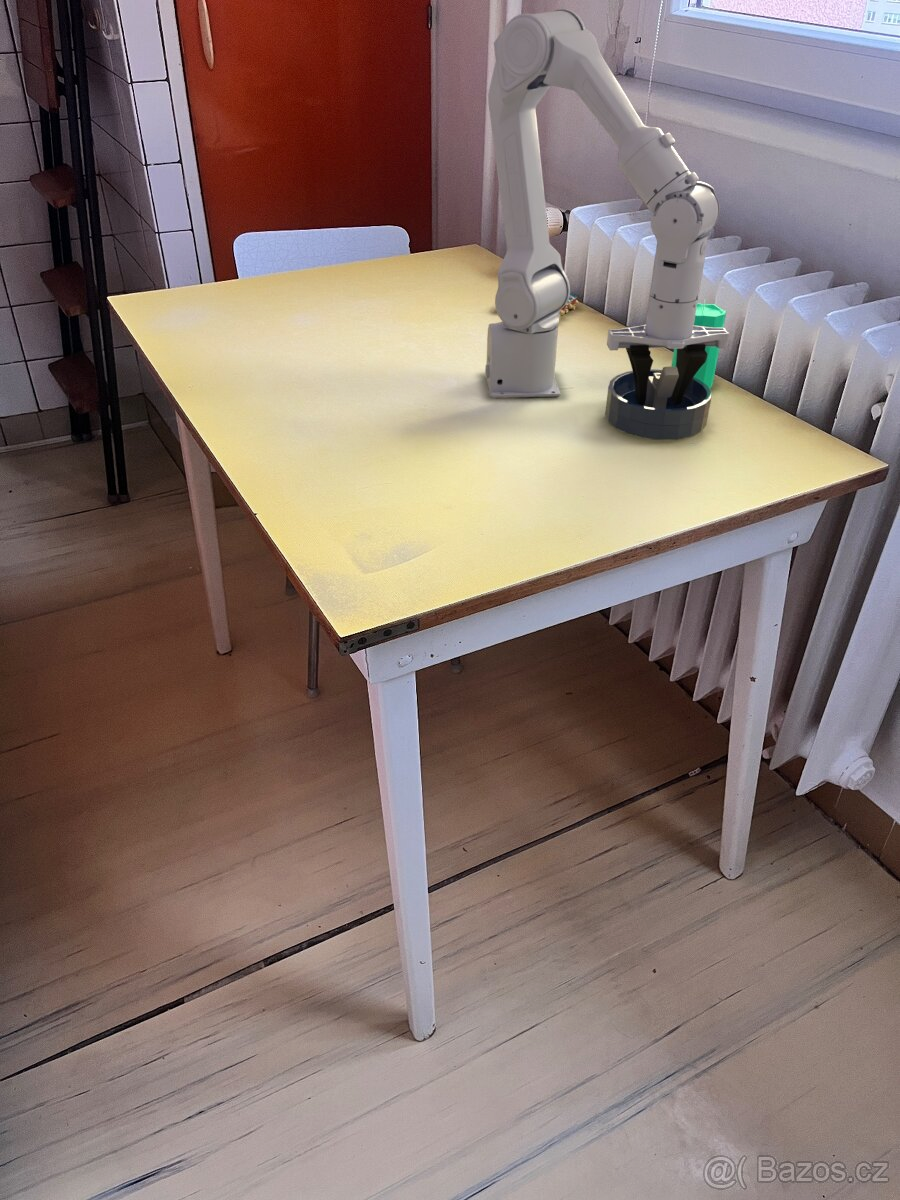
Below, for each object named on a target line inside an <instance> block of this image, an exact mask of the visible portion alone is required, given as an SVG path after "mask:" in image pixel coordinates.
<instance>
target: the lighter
mask: <svg viewBox="0 0 900 1200" xmlns="http://www.w3.org/2000/svg"><path fill="white" fill-rule="evenodd" d="M661 370H662V372H661V373H654V375H653V376H649V378H648V383H647V394H646V401H645V405H644V406H645V407H650V408H659V409H666V403H667V397H671V396H672V393H673V390H674V388H675V385H676V382H677V379H678V377H679V374H678V370H677V367H671V366H663V367H662V368H661Z"/></svg>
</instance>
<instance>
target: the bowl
mask: <svg viewBox="0 0 900 1200" xmlns="http://www.w3.org/2000/svg"><path fill="white" fill-rule="evenodd" d="M661 372H662V369H657V368H656V369H655V368H653V369H652V368H651V370H650V374H649V376H653V375H654V373H661ZM608 383H609V384H608V387H607V395H606V403H605V412H604V416H605V417H606V418H605V419H606V420H607V422H608V423H609V424H610V425H611V426H613V427H614V428H615V429H617V430H619V431H621V432H622V433H625V434H627V435H631V436H634V437H637V438H642V439H646V440H655V441H675V440H681V439H682V440H683V439H687V438H691V437H693V436H695V435H698V434H700V433H701V432H702V431H703V430H704V429H705V428H706V427H707V423H708V418H709V413H710V407H711V402H712V395H713V393H712V390H711V388H710V389H709V387H708V386H707V385H706V384H705V383H703V382H702V381H700V380H698V379H696V378H694V377H693V379H692V380H691V382H690V384H689V386H688V388H687V390H686V392H685V394H684V396H683V399H682V401H681V404H680V405H675V403H674V402H673V400H672V398H671V397H667V403H666V409H659V408H650V407H645V406H644V405H639V404H638V403H637V401H636V391H635V381H634V375H633V370H630V371H625V372H622V373H620V374H618V375H616V376H614V377H613V378H612V379H610V380H609V382H608Z"/></svg>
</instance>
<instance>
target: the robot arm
mask: <svg viewBox="0 0 900 1200" xmlns="http://www.w3.org/2000/svg"><path fill="white" fill-rule="evenodd" d="M493 48H494V58H495V61H494V62H495V63H494V67H493V70H492V76H491V80H490V84H489V89H488V94H487V102H488V110H489V119H490V126H491V127H490V128H491V134H492V143H493V149H494V150H493V151H494V158H495V166H496V175H497V179H498V180H497V181H498V189H499V196H500V205H501V214H502V220H503V228H504V229H503V230H504V237H505V243H506V253H505V255H504V257H503V260H502V261H501V264H500V266H499V268H498V270H497V273H496V274H497V275H496V276H497V280H498V281H497V283H498V284H497V290H496V294H495V297H494V299H495V300H494V305H495V311H496V313H497V315H498V318H499V320H500V321H499V322H493V323H489V324H488V326H487V337H486V340H487V341H486V364H485V369H484V371H485V372H484V373H485V379H486V383H487V387H488V392H489V395H490V397H491V398H495V399H496V398H539V397H540V398H541V397H560V396H561V390H560V388H559V386H558V383H557V381H556V378H555V373H556V362H557V361H556V360H557V347H558V335H559V322H560V320H559V314H560V309H562V308H563V307H564V306H565V305H566V303H567V301H568V299H569V296H570V293H571V284H570V281H569V278H568V276H567V274H566V272H565V271H564V269H563V268H564V267H563V264H562V256H561V254H560V253H559V251H558V250H557V249H556V248H554V247H553V245H552V244H551V242H550V233H549V225H548V216H547V205H546V197H545V187H544V186H545V185H544V177H543V167H542V158H541V150H540V149H541V148H540V140H539V138H540V137H539V132H538V131H539V130H538V129H539V128H538V121H537V111H536V109H537V105H538V104H539V103H540V102H541V100H542V99H543V98H544V97H545V95H546V93H547V92H548V90H549V89H550V88H551V87H552V86H553V87H557V88H561V89H566V90H570V91H573V92H575V93H576V94H577V96H578V97H579V98H580V99H581V101H582V102H583V103H584V105H585V106H586V107H587V108H588V110H589V111H590V112H591V114H593V116H594V117H595V119H596V120H597V121H598V122H599V124H600V125H601V126H602V127H603V129H604V130H605V131H606V132H607V133H608V136H610V137H611V139H612V140H613V141H614V143H615V144H616V145H617V147H618V152H617V153H618V155H617V165H618V167H619V169H620V170H621V172H622V173H623V175H625V177H626V179H627V180H628V182H629V183H630V184H631V187H632V188H633V189H634V191H636V193H637V194H638V196H639V197H640V199H641V201H643V203H644V204H645V206H646V208H647V209H648V211H650V212H651V213H652V215H651V216H650V227H651V230H652V233H653V236H654V237H655V239H656V247H655V254H654V260H653V266H652V274H651V283H650V290H649V296H648V302H647V303H648V305H647V312H646V318H645V319H646V320H645V324H643V325H635V326H631V327H623V328H615V329H614V328H613V329H608V330H607V336H606V337H607V338H606V346H607V349H608V350H609V351H618V350H619V349H625V351H626V353H627V356H628V359H629V362H630V366H631V371H633V375H634V381H635V391H636V401H637V403H638V404H639V405H645V401H646V394H647V383H648V378H649V374H650V370H651V369H652V366H653V363H654V359H653V358H652V356H651V350H650V349H651V348H652V349H654V348H655V349H657V348H667V349H670V350H674V349H677V359H676V367H677V370H678V374H679V377H678V379H677V382H676V385H675V388H674V390H673V393H672V396H671V398H672V400H673V402H674V403H675V405H680V404H681V401H682V399H683V396H684V394H685V392H686V390H687V388H688V386H689V384H690V382H691V380H692V379H693V377H694V376H695V374H696V373H697V371H698V370H699V369H700V368H701V366H702V365H703V364H704V363H705V362H706V359H707V352H706V351H705V347H717V348H719V350H720V349H721V350H722V349H727V347H728V341H729V336H730V333H729V331H728V330H727V329H726V328H725V327H723V328H712V327H702V326H694V321H695V315H696V309H697V303H699V302H698V301H699V296H700V290H701V285H702V279H703V273H704V267H705V262H706V261H705V260H706V252H707V247H708V246H707V245H708V240H709V235H708V232H710V231H711V230H712V229H713V228H714V227H715V225H716V224H717V222H718V220H719V217H720V212H721V205H720V200H719V198H718V197H719V196H718V195H717V193H716V190H715V188H714V187H713V186H712V185H711V184H709V183H706V182H704V181H699V176H698V174H697V173H696V172H695V171H693V172H691V171H690V169H689V168H688V167H687V165H686V164H685V162H684V160H683V159H682V158H681V157H680V155H679V153H678V152H677V150H675V148H674V144H675V143H676V140H675V138H674V137H673V135H672V134H671V132H667V133H664V132H663V131H662V129H661V128H660V127H655V126H654V127H653V126H647V125H645V124H644V123H643V121H642V120H641V118H640V116H639V115H638V113H637V111H636V110H635V108H634V107H633V105H632V103H631V101H630V100H629V98H628V96H627V95H626V93H625V91H623V88H622V86H621V84H620V83H619V81H618V80H617V78H616V77H615V75H614V73H613V72H612V70H611V69H610V67H609V65H608V64H607V62H606V60H605V59H604V57H603V55H602V53H601V51H600V48H599V44H598V42H597V38H596V36H595V35H594V34H593V33H592V32H591V31H590V30H589V28H588V29H586V26H585V23H584V21H583V19H582V18H581V17H580V15H578V14H577V13H576V12H575V11H573V10H571V9H569V8H568V9H567V8H559V9H556V10H553V11H547V12H539V13H520V14H517V15H515V16H513V17H512V18H511V19H510V20H509V21H508V22H507V23H506V25H505V26H504V27H503V28H502V30H501V32H500V33H499V35H498V36H497V37H496V39H495V40H494V42H493Z"/></svg>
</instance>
